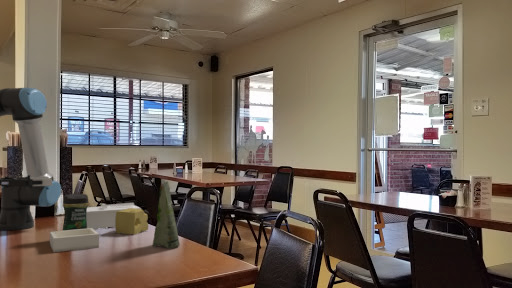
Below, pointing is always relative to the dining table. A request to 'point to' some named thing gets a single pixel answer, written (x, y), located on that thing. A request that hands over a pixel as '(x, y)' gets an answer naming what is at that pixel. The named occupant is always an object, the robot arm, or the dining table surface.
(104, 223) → the tissue box
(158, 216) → the pouch
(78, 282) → the dining table surface
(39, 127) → the robot arm
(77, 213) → the coffee jar
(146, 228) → the cheese
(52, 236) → the tray
